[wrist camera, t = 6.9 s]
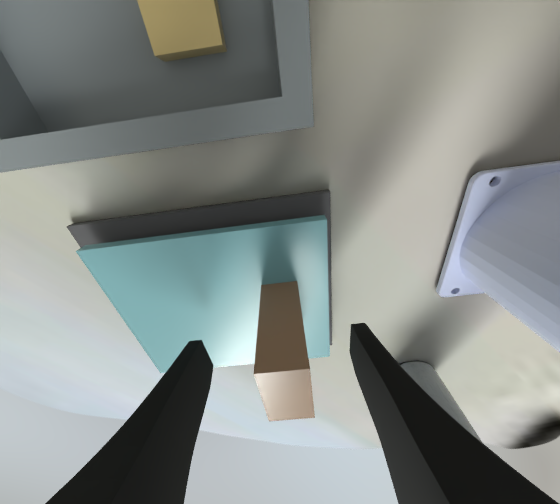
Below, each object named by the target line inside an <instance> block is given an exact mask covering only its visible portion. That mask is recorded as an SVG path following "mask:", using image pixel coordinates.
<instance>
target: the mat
mask: <svg viewBox="0 0 560 504" xmlns="http://www.w3.org/2000/svg"><path fill="white" fill-rule="evenodd" d="M319 215H325V217H326V218H327V243H328V292H329V341H330V345H332V310H331V221H330V191H329V190H323V191H316V192H308V193H301V194H293V195H285V196H278V197H270V198H263V199H255V200H248V201H240V202H233V203H225V204H218V205H210V206H202V207H195V208H187V209H180V210H172V211H165V212H157V213H150V214H142V215H135V216H127V217H119V218H112V219H104V220H97V221H89V222H82V223H74V224H71V225H69V226H67V228H68V229H69V231H70V232H71V234H72V235H73V237H74V238H75V240H76V241H77V243H78V244H79V246H80V247H81V248H82V247H83V246H85V245H92V244H100V243H108V242H116V241H124V240H131V239H139V238H147V237H155V236H163V235H171V234H178V233H186V232H194V231H202V230H210V229H218V228H225V227H233V226H241V225H249V224H257V223H265V222H272V221H280V220H288V219H296V218H304V217H312V216H319Z"/></svg>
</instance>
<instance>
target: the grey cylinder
mask: <svg viewBox="0 0 560 504" xmlns="http://www.w3.org/2000/svg"><path fill="white" fill-rule="evenodd" d="M400 366H401V367H402V368H403V369H404V370H405V371H406V372H407V373H408V374H409V375H410V376H411V377H412V378H413V379H414V381H415V382H416V383H417V384H418V385H419V386H420V387H421V388H422V389H423V390H424V391H425V392H426V393H427V394H428V395H429V396H430V397H431V398H432V399H433V400H435V401H436V402H437V403H438V404H439V405H440V406H441V407H442V408H443V409H444V410H445V411H446V412H447V413H448V414H449V415H451V416H452V417H453V418H454V419H455V420H456V421H457V422H458V423H460V424H461V425H462V426H463V427H464V428H465V429H466V430H467V431H469V432H470V433H471V434H472V435H473V436H474V437H476V438H477V439H478V440H479V441H481V440H480V438H479V437H478V435H477V434H476V432H475V430H474V429H473V427H472V426H471V424H470V423H469V421H468V420H467V418H466V417H465V415H464V414H463V412H462V411H461V409H460V408H459V406H458V404H457V403H456V401H455V400H454V398H453V397H452V395H451V394H450V392H449V391H448V389H447V388H446V386H445V385H444V383H443V382H442V380H441V378H440V377H439V375H438V374H437V372H436V371H435V370H434V368H433V367H432V366H431V365H430V364H427V363H425V362H419V361H414V362H407V363H403V364H400ZM481 442H482V441H481Z"/></svg>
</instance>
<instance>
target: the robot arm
mask: <svg viewBox="0 0 560 504" xmlns="http://www.w3.org/2000/svg"><path fill="white" fill-rule="evenodd" d="M493 177H494V179H493V181H492V182H491V183H490V184H489V182H490V180H491V179H492V178H493ZM436 292H437V293H438V294H439V295H440V296H441V297H452V296H461V295H471V294H480V293H486V294H487V295H488V296H490V297H491V298H492V299H493V300H495V301H496V302H497V303H498V304H500V305H501V306H502V307H503V308H505V309H506V310H507V311H508V312H510V313H511V314H512V315H513V316H515V317H516V318H517V319H519V320H520V321H521V322H522V323H524V324H525V325H526V326H527V327H529V328H530V329H531V330H532V331H534V332H535V333H536V334H537V335H539V336H540V337H541V338H542V339H544V340H545V341H546V342H547V343H549V344H550V345H551V346H552V347H554V348H555V349H556V350H557V351H559V352H560V161H553V162H546V163H538V164H530V165H523V166H515V167H508V168H500V169H493V170H485V171H480V172H477V173H476V174H474V175H473V176H472V177H471V179H470V181H469V183H468V186H467V189H466V193H465V196H464V199H463V202H462V206H461V209H460V212H459V216H458V219H457V222H456V226H455V229H454V232H453V236H452V239H451V242H450V245H449V249H448V252H447V255H446V259H445V262H444V265H443V269H442V272H441V275H440V279H439V282H438V285H437V288H436ZM350 355H351V359H352V363H353V366H354V370H355V374H356V377H357V379H358V382H359V385H360V387H361V390H362V393H363V395H364V398H365V401H366V403H367V406H368V409H369V411H370V414H371V416H372V419H373V422H374V424H375V427H376V430H377V433H378V435H379V438H380V441H381V444H382V448H383V451H384V454H385V458H386V461H387V465H388V468H389V471H390V475H391V479H392V482H393V486H394V489H395V493H396V496H397V500H398V503H399V504H559V503H557V502H556V501H555V500H553V499H552V498H551V497H549V496H548V495H547V494H545V493H544V492H543V491H541V490H540V489H539V488H538V487H536V486H535V485H534V484H532V483H531V482H530V481H529V480H527V479H526V478H525V477H523V476H522V475H521V474H520V473H518V472H517V471H516V470H515V469H513V468H512V467H511V466H509V465H508V464H507V463H506V462H505V461H503V460H502V459H501V458H500V457H499V456H497V455H496V454H495V453H494V452H493V451H491V450H490V449H489V448H488V447H487V446H485V445H484V444H483V443H482V442H481V441H479V440H478V439H477V438H476V437H474V436H473V435H472V434H471V433H470V432H469V431H467V430H466V429H465V428H464V427H463V426H462V425H461V424H460V423H458V422H457V421H456V420H455V419H454V418H453V417H452V416H451V415H449V414H448V413H447V412H446V411H445V410H444V409H443V408H442V407H441V406H440V405H439V404H438V403H437V402H436V401H435V400H433V399H432V398H431V397H430V396H429V395H428V394H427V393H426V392H425V391H424V390H423V389H422V388H421V387H420V386H419V385H418V384H417V383H416V382H415V381H414V379H413V378H412V377H411V376H410V375H409V374H408V373H407V372H406V371H405V370H404V369H403V368H402V367H401V366H400V364H399V363H398V362H397V361H396V360H395V359H394V358H393V357H392V355H391V354H390V353H389V352H388V351H387V350H386V348H385V347H384V346H383V345H382V344H381V342H380V341H379V340H378V339H377V338H376V336H375V335H374V334H373V332H372V331H371V330H370V329H369V327H368V326H367V325H366V324H365V323H359V324H351V336H350ZM212 372H213V363H212V361H211V359H210V357H209V355H208V352H207V350H206V348H205V346H204V344H203V342H202V340H194V341H189V342H188V343H187V345H186V346H185V347H184V349H183V350H182V351H181V353H180V354H179V355H178V357H177V358H176V359H175V361H174V362H173V364H172V365H171V366H170V368H169V369H168V370H167V372H166V373H165V374H164V376H163V377H162V378H161V379H160V381H159V382H158V383H157V385H156V386H155V387H154V389H153V390H152V391H151V392H150V394H149V395H148V396H147V397H146V398H145V400H144V401H143V402H142V403H141V405H140V406H139V407H138V408H137V409H136V411H135V412H134V413H133V414H132V415H131V417H130V418H129V419H128V420H127V421H126V422H125V423H124V425H123V426H122V427H121V428H120V429H119V430H118V431H117V433H116V434H115V435H114V436H113V437H112V438H111V439H110V440H109V441H108V442H107V443H106V444H105V445H104V446H103V447H102V449H101V450H100V451H99V452H98V453H97V454H96V455H95V456H94V457H93V458H92V459H91V460H90V461H89V462H88V463H87V464H86V465H85V466H84V467H83V468H82V469H81V470H80V471H79V472H78V473H77V474H76V475H75V476H74V477H73V478H72V479H71V480H70V481H69V482H68V483H67V484H66V485H65V486H64V487H63V488H61V489H60V490H59V491H58V492H57V493H56V494H55V495H54V496H53V497H52V498H51V499H50V500H49V501H48V502H47V503H46V504H184V498H185V492H186V486H187V481H188V475H189V470H190V464H191V460H192V455H193V450H194V446H195V442H196V439H197V435H198V431H199V427H200V424H201V420H202V416H203V413H204V409H205V405H206V401H207V398H208V394H209V390H210V385H211V378H212Z"/></svg>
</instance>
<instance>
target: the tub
mask: <svg viewBox="0 0 560 504" xmlns="http://www.w3.org/2000/svg"><path fill="white" fill-rule="evenodd" d="M308 127H314V118H313V95H312V71H311V48H310V24H309V1H308V0H0V172H7V171H14V170H21V169H28V168H35V167H41V166H48V165H55V164H62V163H69V162H76V161H82V160H89V159H96V158H103V157H110V156H117V155H123V154H130V153H137V152H144V151H151V150H158V149H164V148H171V147H178V146H185V145H192V144H199V143H205V142H212V141H219V140H226V139H233V138H240V137H246V136H253V135H260V134H267V133H274V132H281V131H287V130H294V129H301V128H308Z"/></svg>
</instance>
